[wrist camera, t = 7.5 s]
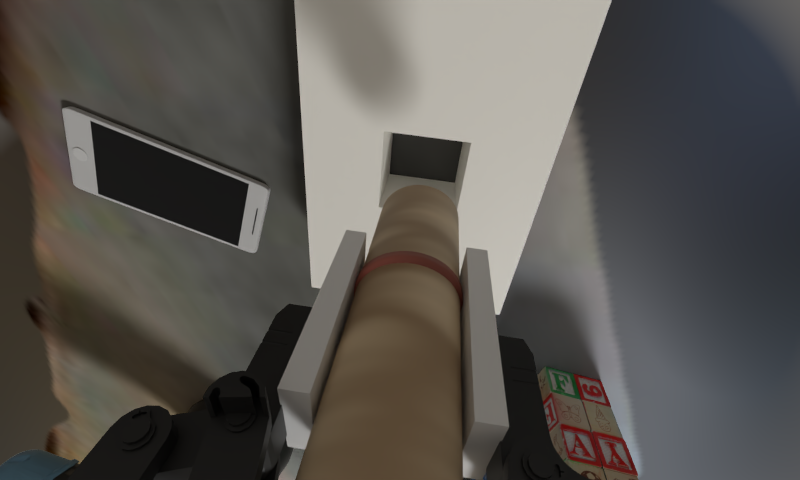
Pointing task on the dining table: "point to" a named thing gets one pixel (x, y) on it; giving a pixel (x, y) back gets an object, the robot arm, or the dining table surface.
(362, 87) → the hole board
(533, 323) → the dining table surface
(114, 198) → the smartphone
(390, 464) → the beech peg
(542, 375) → the stack of blocks
